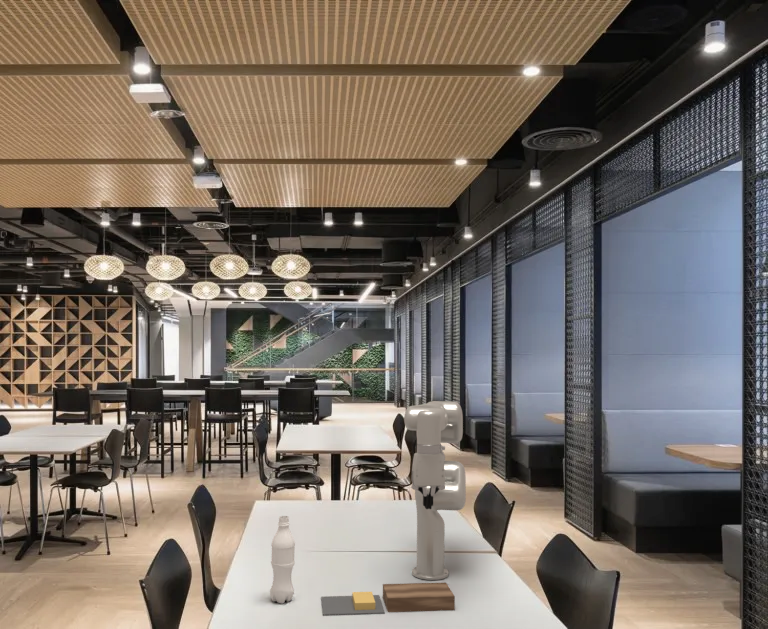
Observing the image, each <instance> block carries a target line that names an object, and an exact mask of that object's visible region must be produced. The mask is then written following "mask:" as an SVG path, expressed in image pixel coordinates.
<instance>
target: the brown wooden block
mask: <svg viewBox="0 0 768 629" xmlns="http://www.w3.org/2000/svg"><path fill="white" fill-rule="evenodd" d="M455 597H456V596H455V595H454V593H453V591H452V589H451V588H450V587H449V584H448V583H447V582H418V583H416V582H415V583H414V582H413V583H412V582H411V583H410V582H409V583H383V584H382V600H383V602H384V605H385V609H386V612H387V613H406V612H407V613H409V612H411V613H412V612H434V611H435V612H436V611H442V612H443V611H455V606H456V602H455V600H456V598H455Z"/></svg>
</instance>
